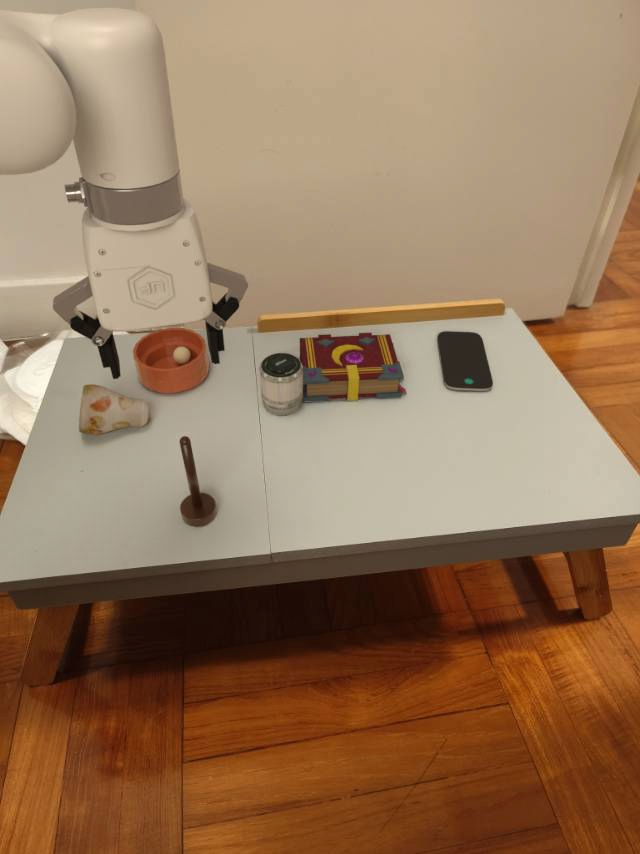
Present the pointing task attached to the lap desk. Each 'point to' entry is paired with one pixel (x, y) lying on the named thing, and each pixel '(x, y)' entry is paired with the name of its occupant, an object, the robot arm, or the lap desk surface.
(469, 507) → the lap desk surface
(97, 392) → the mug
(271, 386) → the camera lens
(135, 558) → the lap desk surface
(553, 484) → the lap desk surface
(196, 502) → the round knob peg
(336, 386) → the decorative book
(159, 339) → the bowl
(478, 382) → the smartphone
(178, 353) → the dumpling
